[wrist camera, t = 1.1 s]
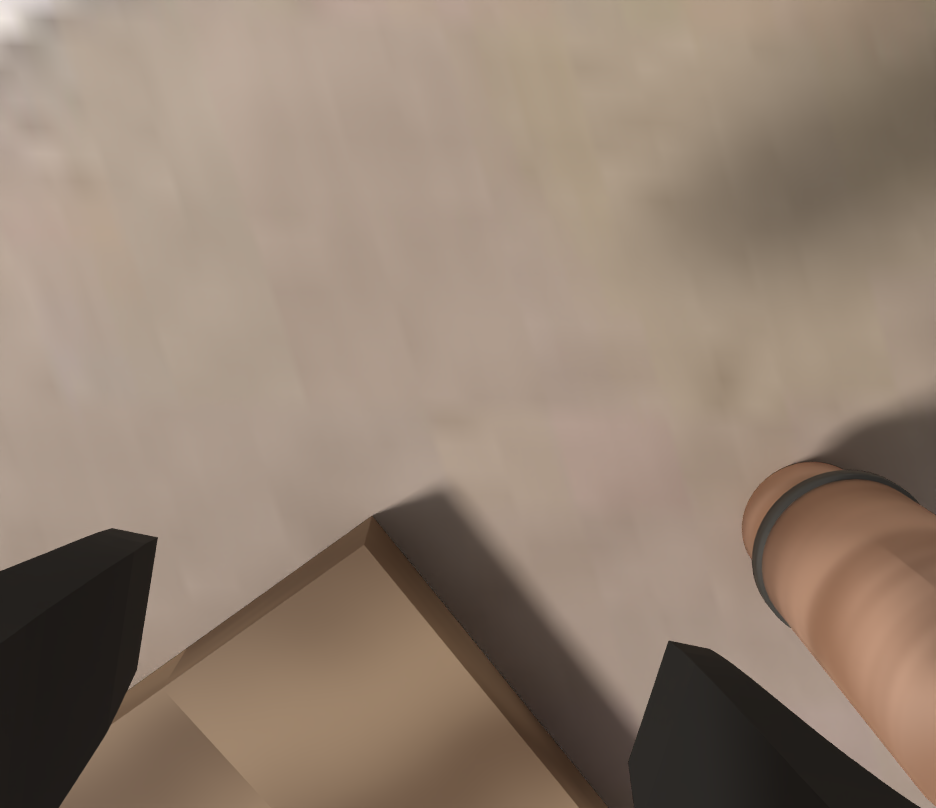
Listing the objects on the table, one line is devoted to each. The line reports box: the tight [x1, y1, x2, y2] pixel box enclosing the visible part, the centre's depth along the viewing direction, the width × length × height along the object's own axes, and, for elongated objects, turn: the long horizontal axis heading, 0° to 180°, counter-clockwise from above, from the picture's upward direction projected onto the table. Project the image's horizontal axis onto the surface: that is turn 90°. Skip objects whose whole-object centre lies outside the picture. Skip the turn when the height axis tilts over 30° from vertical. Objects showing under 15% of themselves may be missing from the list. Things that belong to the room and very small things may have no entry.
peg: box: [742, 462, 936, 806], centre depth 18 cm, size 4×4×9 cm
